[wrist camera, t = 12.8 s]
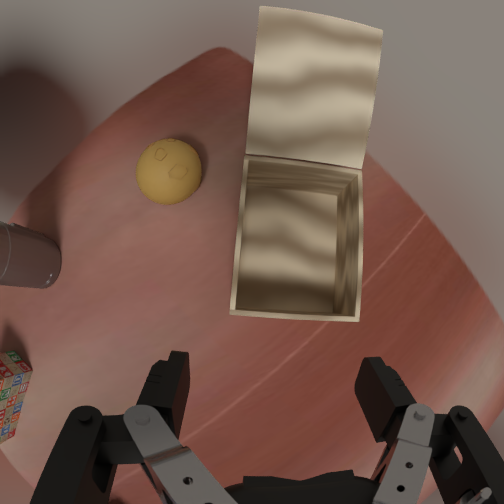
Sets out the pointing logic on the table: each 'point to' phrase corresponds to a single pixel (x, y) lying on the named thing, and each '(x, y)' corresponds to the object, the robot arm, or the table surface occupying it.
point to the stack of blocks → (11, 391)
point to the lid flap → (312, 87)
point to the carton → (298, 241)
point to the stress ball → (168, 171)
